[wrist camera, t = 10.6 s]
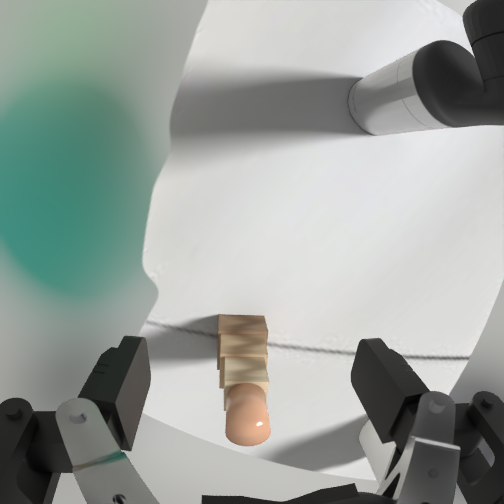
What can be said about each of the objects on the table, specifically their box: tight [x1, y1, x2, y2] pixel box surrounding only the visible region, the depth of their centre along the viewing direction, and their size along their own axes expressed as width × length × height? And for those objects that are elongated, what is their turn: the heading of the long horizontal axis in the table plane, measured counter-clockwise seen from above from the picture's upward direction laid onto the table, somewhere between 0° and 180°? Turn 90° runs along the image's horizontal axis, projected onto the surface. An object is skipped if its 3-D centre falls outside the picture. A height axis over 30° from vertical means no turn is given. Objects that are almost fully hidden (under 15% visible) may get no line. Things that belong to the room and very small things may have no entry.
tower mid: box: [220, 333, 268, 388], centre depth 40 cm, size 6×6×5 cm
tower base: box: [217, 314, 268, 370], centre depth 45 cm, size 7×7×5 cm
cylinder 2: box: [359, 419, 396, 486], centre depth 47 cm, size 19×19×25 cm
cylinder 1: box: [225, 383, 271, 446], centre depth 30 cm, size 5×5×6 cm
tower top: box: [224, 356, 269, 411], centre depth 35 cm, size 5×5×5 cm
